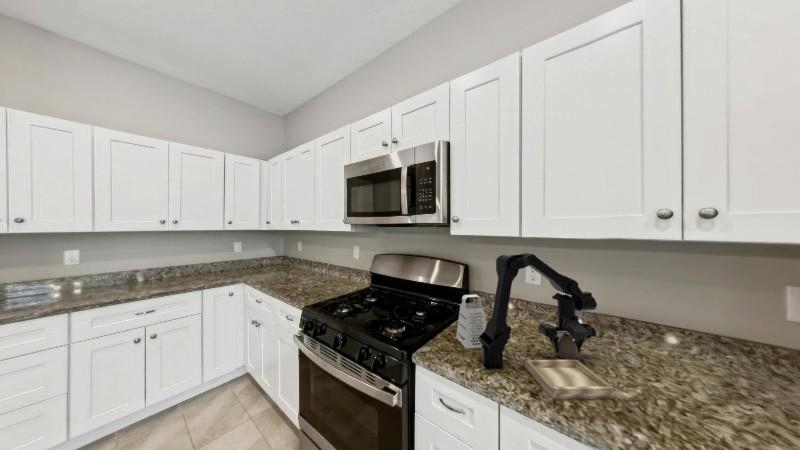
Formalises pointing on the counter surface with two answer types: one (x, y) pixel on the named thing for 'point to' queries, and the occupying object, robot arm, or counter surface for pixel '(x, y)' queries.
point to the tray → (569, 380)
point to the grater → (471, 322)
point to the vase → (567, 347)
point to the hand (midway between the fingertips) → (566, 352)
